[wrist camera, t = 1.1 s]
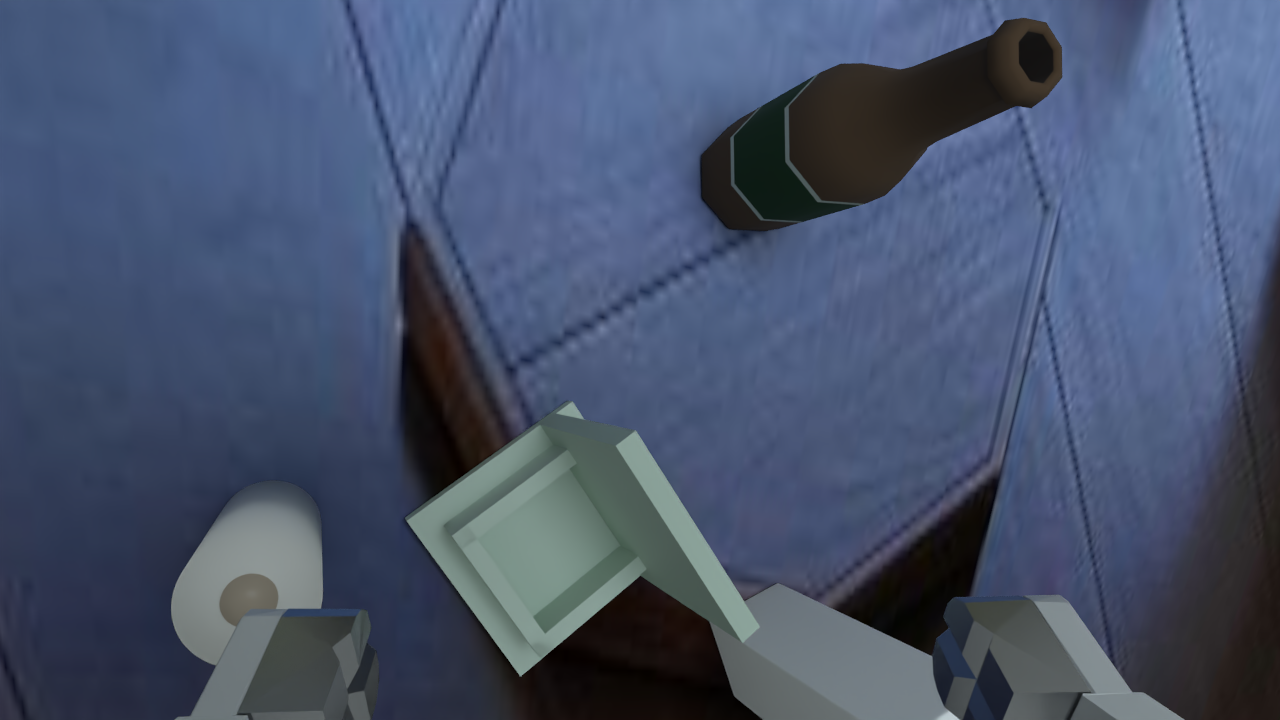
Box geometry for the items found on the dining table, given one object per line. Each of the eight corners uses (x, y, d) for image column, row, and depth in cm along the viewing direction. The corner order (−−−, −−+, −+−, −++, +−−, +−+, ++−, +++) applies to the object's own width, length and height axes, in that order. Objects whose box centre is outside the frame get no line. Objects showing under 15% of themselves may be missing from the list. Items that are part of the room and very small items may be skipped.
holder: (404, 517, 45) (439, 579, 32) (567, 400, 49) (657, 414, 36) (516, 670, 48) (590, 784, 35) (663, 547, 52) (778, 609, 39)
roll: (209, 491, 41) (158, 551, 28) (313, 471, 43) (311, 519, 30) (225, 585, 42) (183, 688, 28) (328, 561, 44) (333, 647, 30)
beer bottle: (770, 254, 55) (1076, 181, 33) (679, 206, 52) (945, 92, 30) (804, 157, 56) (1122, 23, 34) (716, 105, 53) (1000, -78, 31)
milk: (800, 655, 56) (1079, 825, 36) (732, 697, 54) (987, 903, 33) (776, 579, 55) (1048, 709, 35) (706, 618, 53) (952, 781, 33)
